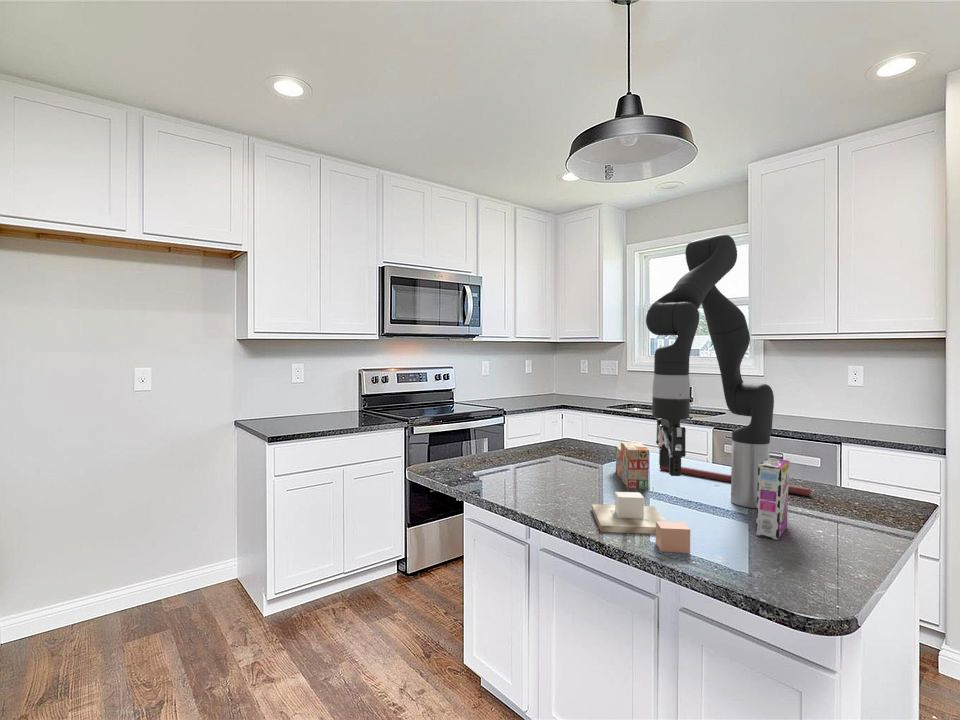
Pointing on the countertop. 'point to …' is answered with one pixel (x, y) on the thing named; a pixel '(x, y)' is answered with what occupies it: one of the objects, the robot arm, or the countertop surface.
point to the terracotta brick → (672, 536)
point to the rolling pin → (728, 478)
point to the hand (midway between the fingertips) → (669, 470)
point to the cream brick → (629, 505)
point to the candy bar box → (772, 498)
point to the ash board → (626, 520)
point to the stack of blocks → (633, 464)
